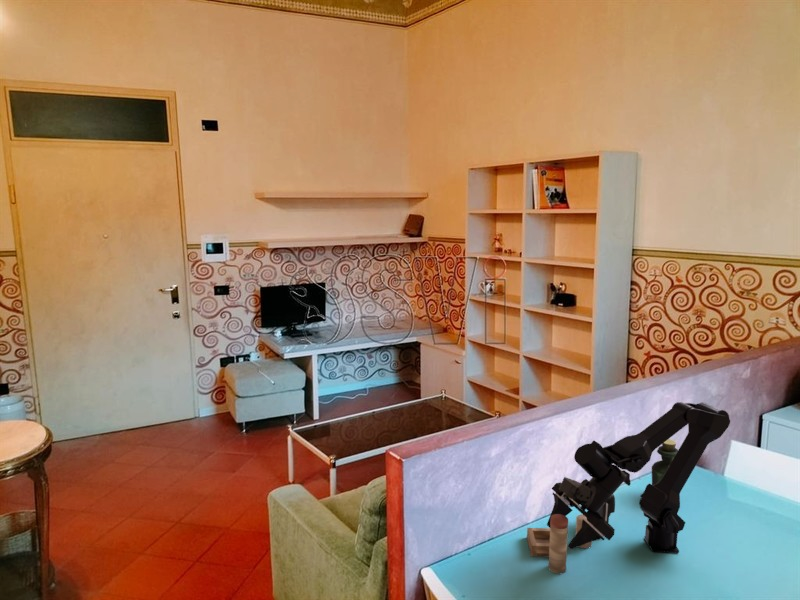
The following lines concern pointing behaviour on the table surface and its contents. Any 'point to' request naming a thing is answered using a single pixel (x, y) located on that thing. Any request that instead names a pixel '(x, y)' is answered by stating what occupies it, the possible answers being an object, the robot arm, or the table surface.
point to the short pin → (578, 527)
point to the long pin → (558, 543)
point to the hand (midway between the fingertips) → (558, 536)
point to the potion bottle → (663, 460)
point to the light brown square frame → (538, 541)
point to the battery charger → (607, 509)
